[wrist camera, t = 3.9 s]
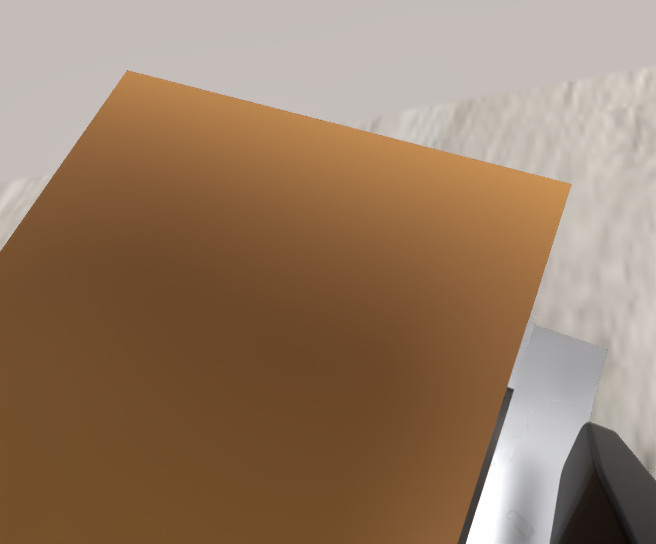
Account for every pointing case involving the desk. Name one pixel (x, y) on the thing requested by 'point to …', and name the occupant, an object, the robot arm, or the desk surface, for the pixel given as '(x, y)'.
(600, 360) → the frame
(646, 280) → the desk surface
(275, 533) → the plug
